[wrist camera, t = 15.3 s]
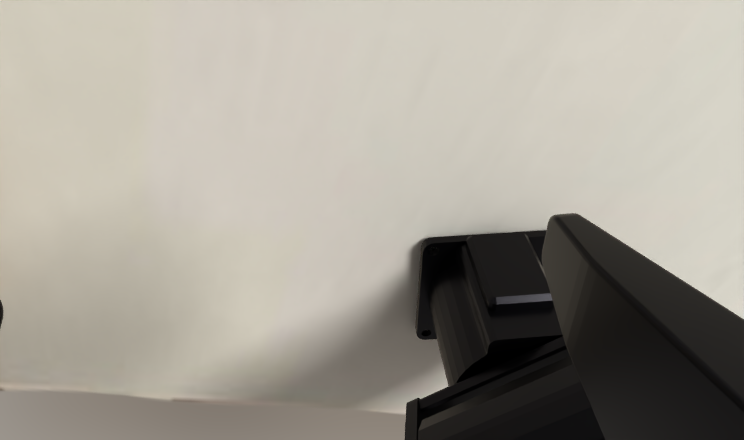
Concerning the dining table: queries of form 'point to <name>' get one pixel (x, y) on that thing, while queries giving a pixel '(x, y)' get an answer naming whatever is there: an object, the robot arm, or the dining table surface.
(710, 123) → the dining table surface
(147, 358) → the dining table surface
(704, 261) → the dining table surface
